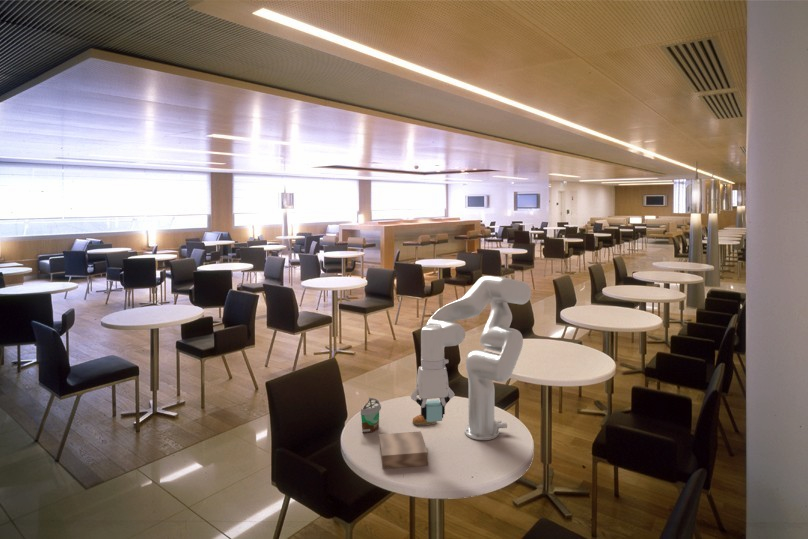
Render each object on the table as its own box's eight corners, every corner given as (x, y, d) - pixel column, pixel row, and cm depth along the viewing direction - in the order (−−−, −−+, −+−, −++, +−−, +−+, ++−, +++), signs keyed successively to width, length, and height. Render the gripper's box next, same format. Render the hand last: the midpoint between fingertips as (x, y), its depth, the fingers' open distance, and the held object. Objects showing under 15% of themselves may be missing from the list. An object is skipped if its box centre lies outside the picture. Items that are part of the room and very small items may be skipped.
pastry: (416, 428, 184) (416, 419, 184) (409, 421, 190) (409, 412, 190) (438, 423, 188) (438, 414, 188) (430, 417, 194) (430, 408, 194)
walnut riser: (421, 443, 172) (421, 431, 172) (427, 465, 157) (427, 452, 157) (379, 446, 171) (379, 434, 170) (382, 468, 156) (382, 455, 155)
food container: (377, 436, 178) (376, 410, 177) (361, 435, 179) (360, 409, 178) (385, 421, 190) (384, 397, 189) (370, 420, 191) (369, 396, 190)
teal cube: (438, 414, 161) (438, 400, 160) (442, 420, 156) (442, 406, 155) (424, 415, 160) (424, 401, 159) (427, 421, 155) (427, 407, 154)
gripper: (455, 358, 161) (455, 410, 163) (405, 361, 158) (405, 414, 160) (461, 365, 153) (460, 419, 155) (408, 368, 151) (409, 423, 153)
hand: (432, 416), depth 158 cm, fingers closed on teal cube, 4 cm apart
